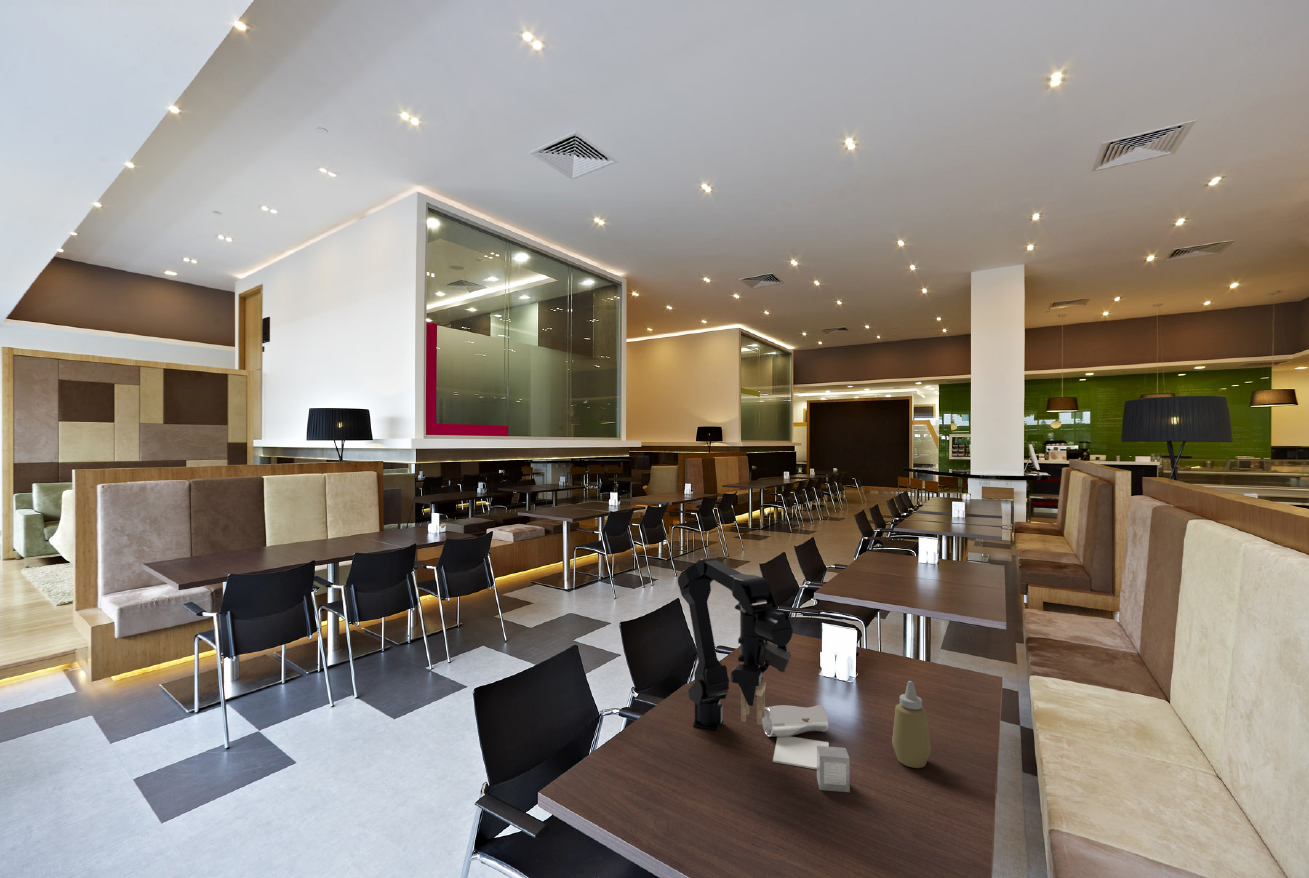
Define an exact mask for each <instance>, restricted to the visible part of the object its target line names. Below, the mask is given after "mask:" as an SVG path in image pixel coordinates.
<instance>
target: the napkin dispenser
mask: <svg viewBox="0 0 1309 878" xmlns="http://www.w3.org/2000/svg"><path fill="white" fill-rule="evenodd" d="M850 763H851V762H850V756H849V754H848V751H847V749H846V747H838V746H829V747H826V746H817V769H816V780H817V783H818V789H819V790H820V791H830V792H840V793H841V792H842V793H851V789H850V788H851V786H850V785H851V783H850V782H851V781H850V780H851V779H850V775H851V774H850V773H851V772H850V767H851V766H850V765H851V764H850Z"/></svg>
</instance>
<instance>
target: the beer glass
mask: <svg viewBox="0 0 1309 878" xmlns="http://www.w3.org/2000/svg"><path fill="white" fill-rule="evenodd" d="M762 729H763V730H764V733H765V735H766V736H767V737H768V738H769V737H774V738H775V737H776V738H777V737H786V736H791V737H794V736H796V735H799V734H803V733H807V732H819V733H820V732H821V733H825V732H827V731H828V729H829V717H828V714H827V711H826V709H825V707H824V706H823V705H821V704H819V705H813V706H809V707H803V706H796V705H786V704H783V705H773V706H765V717H764V718H762Z"/></svg>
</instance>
